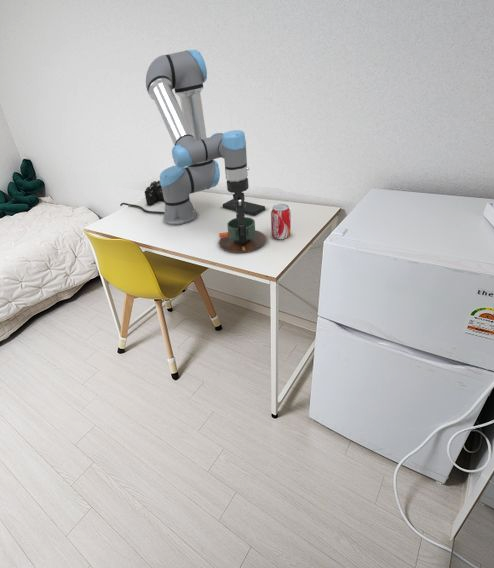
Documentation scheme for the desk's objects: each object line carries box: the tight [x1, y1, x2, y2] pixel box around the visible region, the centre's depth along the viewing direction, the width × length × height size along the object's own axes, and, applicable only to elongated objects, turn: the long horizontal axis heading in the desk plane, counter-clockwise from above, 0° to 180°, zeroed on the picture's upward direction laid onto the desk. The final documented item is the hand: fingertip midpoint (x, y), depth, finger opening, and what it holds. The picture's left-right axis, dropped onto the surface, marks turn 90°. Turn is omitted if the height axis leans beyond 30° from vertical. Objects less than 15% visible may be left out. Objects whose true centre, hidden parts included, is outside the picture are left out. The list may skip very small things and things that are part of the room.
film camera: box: [144, 179, 164, 206], centre depth 188 cm, size 18×12×10 cm
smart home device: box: [222, 198, 266, 217], centre depth 162 cm, size 8×2×20 cm
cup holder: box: [218, 216, 256, 241], centre depth 133 cm, size 14×11×5 cm
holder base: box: [218, 230, 267, 254], centre depth 135 cm, size 18×18×3 cm
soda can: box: [270, 203, 292, 240], centre depth 131 cm, size 7×7×12 cm
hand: (241, 235), depth 134 cm, fingers closed on cup holder, 10 cm apart
